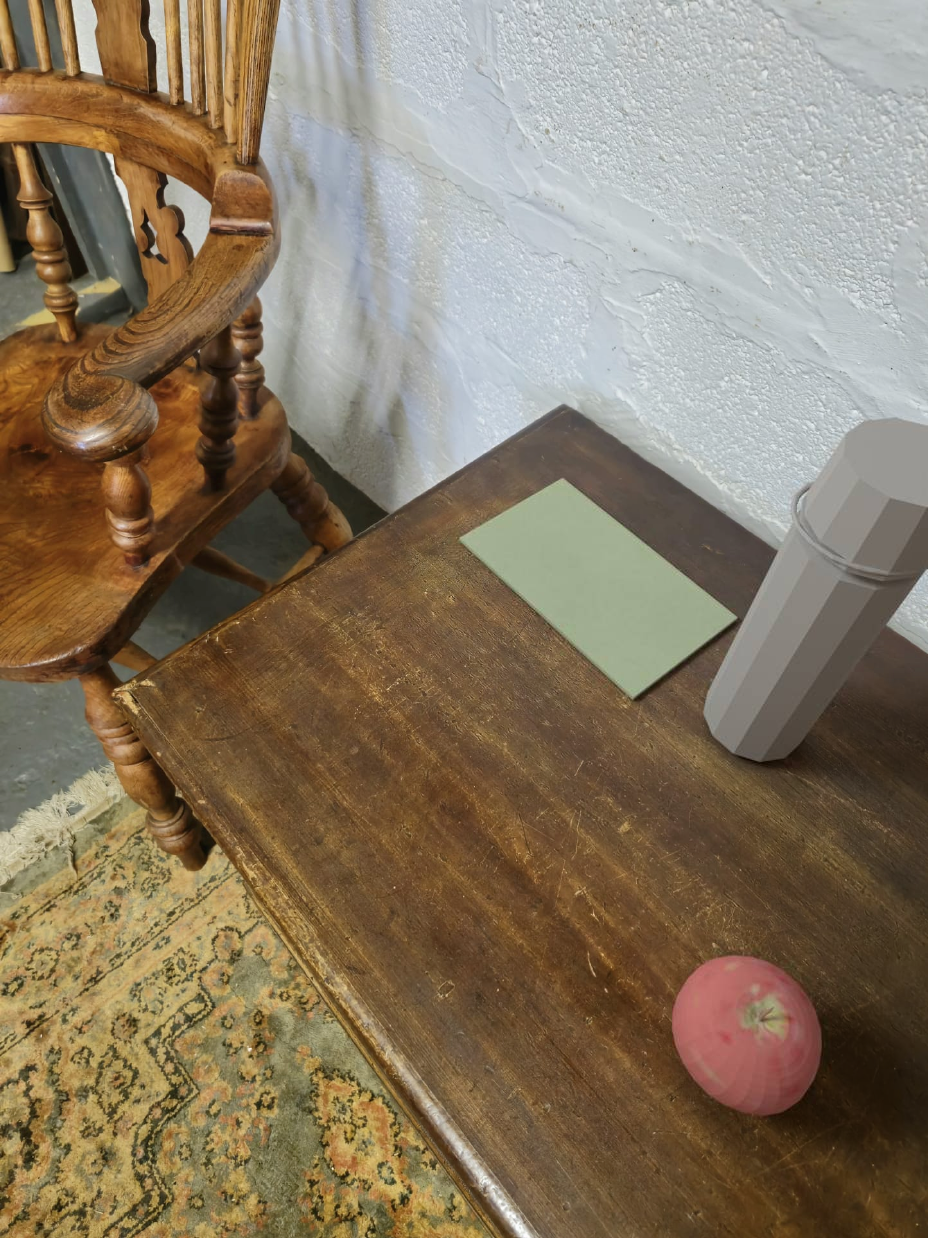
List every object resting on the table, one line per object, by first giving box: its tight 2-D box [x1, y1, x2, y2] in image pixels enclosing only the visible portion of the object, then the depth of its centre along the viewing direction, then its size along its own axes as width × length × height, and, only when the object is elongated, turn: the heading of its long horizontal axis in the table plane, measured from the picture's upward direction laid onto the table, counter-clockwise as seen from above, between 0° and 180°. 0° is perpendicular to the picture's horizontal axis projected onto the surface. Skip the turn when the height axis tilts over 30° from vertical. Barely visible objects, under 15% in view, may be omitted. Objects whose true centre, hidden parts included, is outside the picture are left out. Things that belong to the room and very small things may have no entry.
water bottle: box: [702, 417, 928, 763], centre depth 52 cm, size 9×8×25 cm
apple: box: [671, 954, 823, 1117], centre depth 45 cm, size 7×7×8 cm
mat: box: [458, 477, 739, 701], centre depth 69 cm, size 20×12×1 cm, turn 40°
